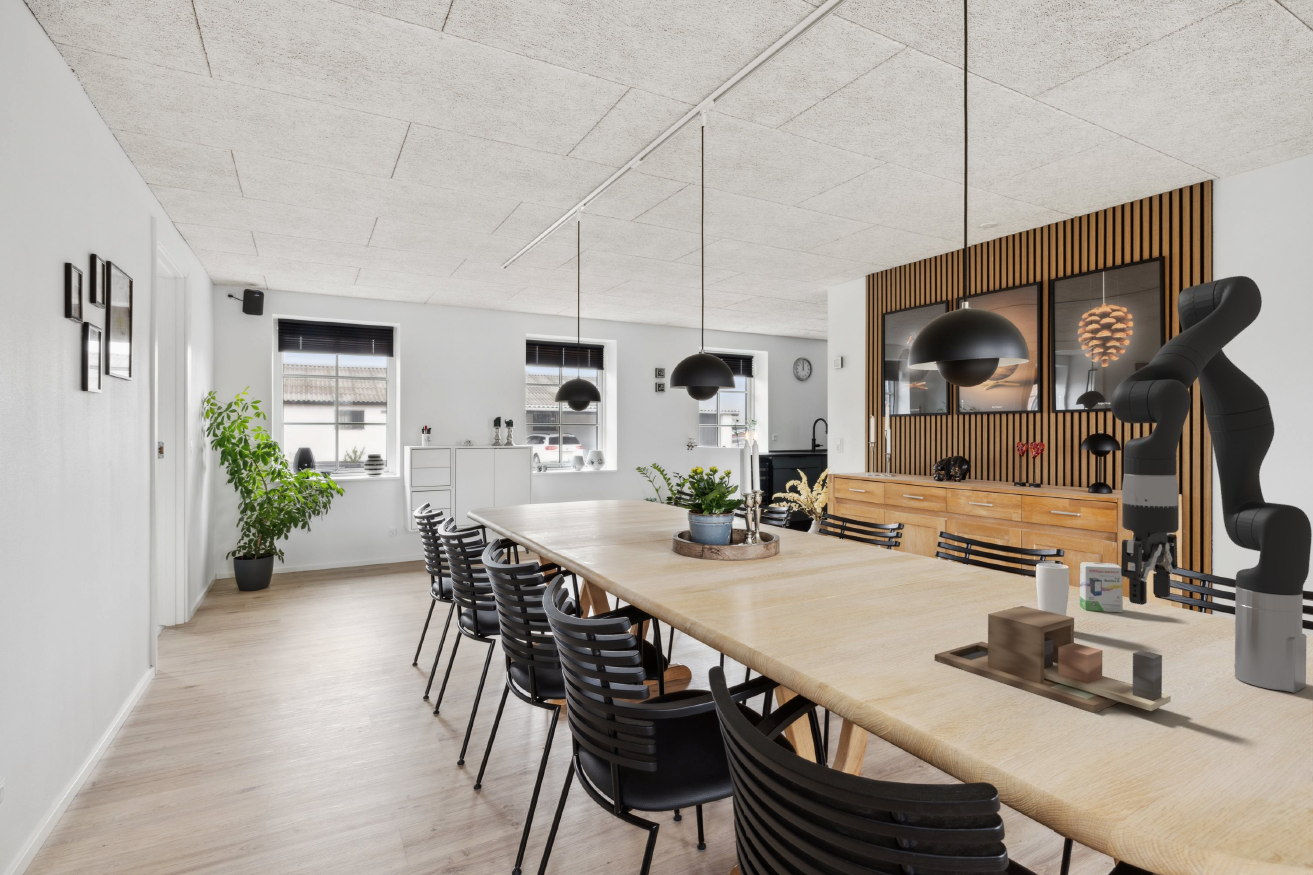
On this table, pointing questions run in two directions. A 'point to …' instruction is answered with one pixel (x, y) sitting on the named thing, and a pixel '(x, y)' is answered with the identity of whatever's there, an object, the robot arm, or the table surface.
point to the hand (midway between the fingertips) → (1150, 599)
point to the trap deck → (1024, 655)
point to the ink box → (1101, 587)
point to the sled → (1085, 673)
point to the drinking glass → (1052, 587)
